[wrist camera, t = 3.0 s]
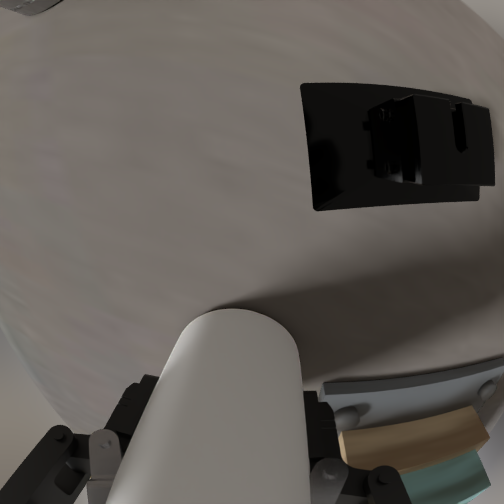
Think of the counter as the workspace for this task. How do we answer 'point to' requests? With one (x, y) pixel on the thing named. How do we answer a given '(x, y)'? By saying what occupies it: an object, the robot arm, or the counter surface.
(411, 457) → the brick tower
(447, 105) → the black slotted housing
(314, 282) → the counter surface
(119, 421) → the robot arm
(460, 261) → the counter surface
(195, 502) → the can
